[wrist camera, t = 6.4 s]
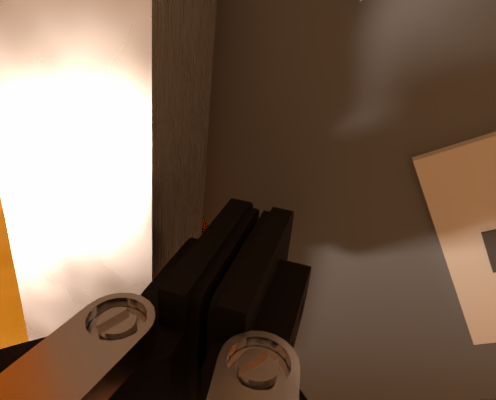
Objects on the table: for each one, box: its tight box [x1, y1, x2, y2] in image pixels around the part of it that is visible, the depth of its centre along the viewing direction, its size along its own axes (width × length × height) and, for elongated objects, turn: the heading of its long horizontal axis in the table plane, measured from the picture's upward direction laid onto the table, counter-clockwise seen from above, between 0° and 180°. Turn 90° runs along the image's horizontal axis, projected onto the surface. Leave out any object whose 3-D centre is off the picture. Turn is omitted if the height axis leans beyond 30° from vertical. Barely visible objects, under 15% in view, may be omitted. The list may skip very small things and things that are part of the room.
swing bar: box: [0, 0, 217, 341], centre depth 9 cm, size 4×24×4 cm, turn 173°
